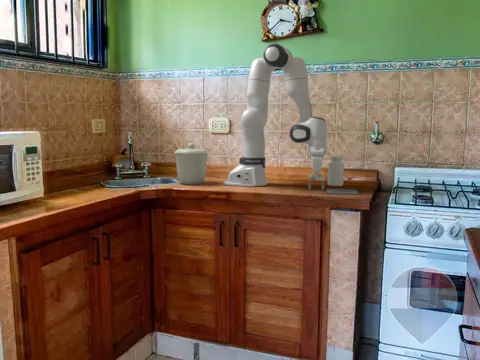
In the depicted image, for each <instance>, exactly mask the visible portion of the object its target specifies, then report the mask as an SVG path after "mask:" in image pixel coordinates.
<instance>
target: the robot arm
mask: <svg viewBox="0 0 480 360" xmlns="http://www.w3.org/2000/svg"><path fill="white" fill-rule="evenodd" d="M262 55H263V57H258V58H255V59H254V60H253V61H252V63H251V66H250V69H249V73H248V81H247V87H246V110H244V111H243V113H242V114H241V118H240V119H241V130H242V131H241V132H242V140H243V141H242V142H243V147H242V150H243V151H242V153H243V154H242V156H241V157H239V160H238V161H239V162H238V163H239V164H238V165H237V166H236V167H234V168H233V169H231V170H230V172H229V173H228V177H227V180H224V182H223V185H225V186H233V187H235V186H237V187H238V186H239V187H259V186H260V187H261V186H267V185H268V182H267V176H266V163H267V161H266V160H267V159H266V156H265V154H266V153H265V152H266V141H265V129H264V128H265V126H266V124H267V121H268V113H269V112H268V110H269V94H270V87H271V86H270V85H271V79H272V78H271V77H272V74H273V72H277V71H280V70H281V71H283V74H284V83H285V89H286V93H287V95H288V97H289V98H291V99H292V100H293V102H295V104H296V106H297V108H298V114H299V120H300V122H299V123H297V124H294V125H292V126H291V127H290V130H289V138H290V140H291V141H292V142H294V143H295V144H308V145H307V146H308V147H307V148H308V149H307V153H308V154H307V155H310V158H311V164H312V165H311V166H312V172H314V173H313V174H315V180H314V181H319V180H318V176H319V174H320V172H321V171H322V164H323V159H324V157H325V156H326V155H327V150H328V148H327V146H328V144H327V137H328V124H327V123H328V122H327V120H326V119H325V118H323V117H319V116H313V111H312V104H311V98H310V92H309V91H310V90H309V76H308V70H307V65H306V63H305V62H306V61H305V60H304V59H303V58H302V57H300V56H293V54H292V52H291V51H290V50H289V49H288V48H287V47H285V46H284V45H282V44H279V43H271V44H268V45H267V46H266V47H265V49H264V51H263V54H262Z"/></svg>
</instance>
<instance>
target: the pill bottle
mask: <svg viewBox="0 0 480 360" xmlns="http://www.w3.org/2000/svg"><path fill="white" fill-rule="evenodd" d="M327 169H328V171H327V186H331V187H342V186H343V185H344V177H345V176H344V173H345V163H344V162H343V157H342V156H338V155H332V156H331V161H329V162H328V168H327Z"/></svg>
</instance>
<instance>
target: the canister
mask: <svg viewBox="0 0 480 360" xmlns="http://www.w3.org/2000/svg"><path fill="white" fill-rule="evenodd" d="M173 154H174V156H175V157H174V158H175V163H176V172H177V173H176V174H177V180H178V182H179V183H180V184H183V185H191V186H192V185H194V186H195V185H201V184H203V183H204V182H205V180H206V172H207V167H208V166H207V165H208V155H209V154H210V151H208V150H207V149H205V148H197V147H196V144H195V143H193V142H189V143H188V144H187V148H178V149H176V150H175V151H173Z"/></svg>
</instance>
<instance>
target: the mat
mask: <svg viewBox="0 0 480 360" xmlns="http://www.w3.org/2000/svg"><path fill="white" fill-rule="evenodd" d="M326 194H334V195H335V194H336V195H337V194H338V195H339V194H340V195H341V194H342V195H359V192H358V190H357V189H346V188H345V189H344V188H326Z"/></svg>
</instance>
